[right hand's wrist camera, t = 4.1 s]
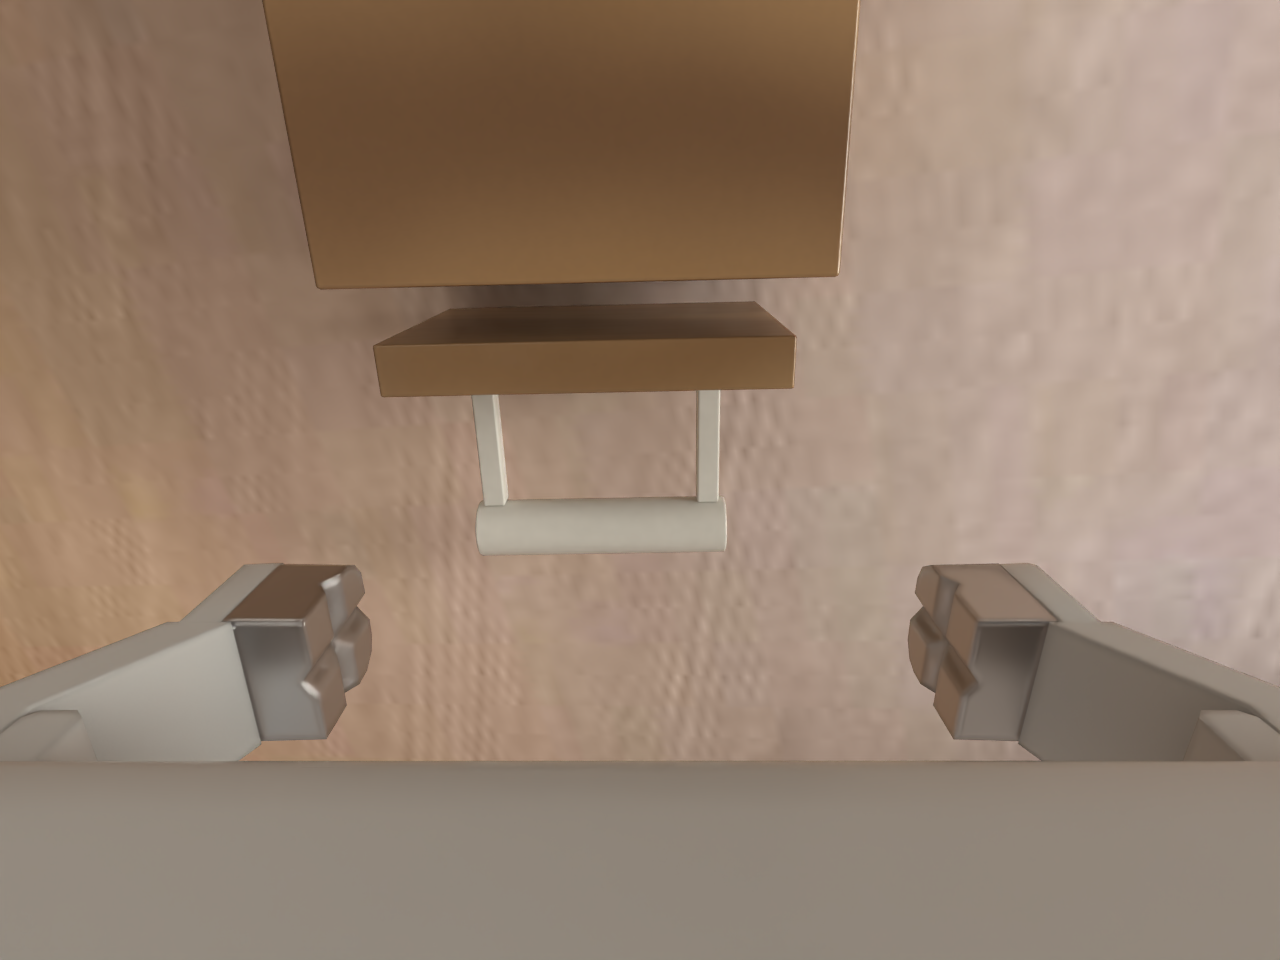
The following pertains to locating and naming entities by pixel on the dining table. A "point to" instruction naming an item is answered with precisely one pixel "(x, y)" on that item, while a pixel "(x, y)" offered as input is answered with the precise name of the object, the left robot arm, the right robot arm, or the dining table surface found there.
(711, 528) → the drawer
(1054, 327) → the dining table surface
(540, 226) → the cabinet
